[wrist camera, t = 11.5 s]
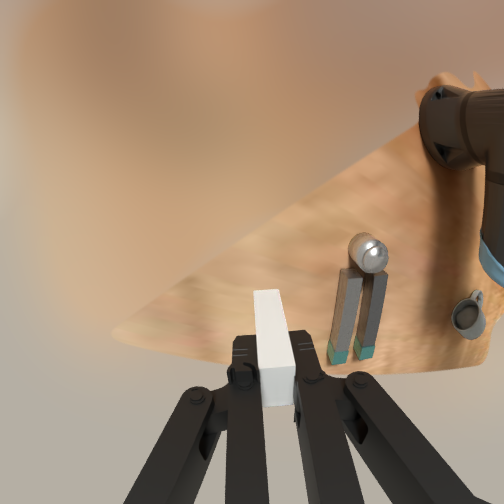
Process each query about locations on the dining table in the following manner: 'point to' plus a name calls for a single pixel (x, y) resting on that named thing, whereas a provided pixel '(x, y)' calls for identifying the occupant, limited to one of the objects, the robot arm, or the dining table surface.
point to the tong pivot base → (368, 296)
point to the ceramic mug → (469, 316)
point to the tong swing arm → (351, 303)
